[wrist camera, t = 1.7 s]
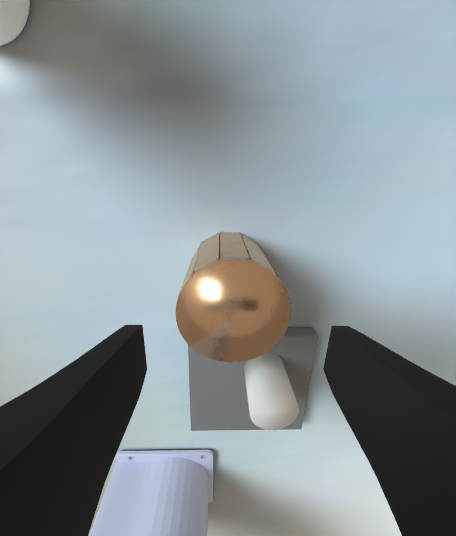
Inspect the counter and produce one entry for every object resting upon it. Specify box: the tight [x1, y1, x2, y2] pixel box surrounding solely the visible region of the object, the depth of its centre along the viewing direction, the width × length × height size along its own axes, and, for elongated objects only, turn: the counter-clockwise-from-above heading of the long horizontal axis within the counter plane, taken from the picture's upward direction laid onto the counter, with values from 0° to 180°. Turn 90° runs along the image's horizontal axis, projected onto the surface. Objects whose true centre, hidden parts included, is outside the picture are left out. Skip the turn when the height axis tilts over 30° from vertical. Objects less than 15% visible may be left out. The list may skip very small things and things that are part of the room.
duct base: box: [188, 327, 318, 431], centre depth 19 cm, size 10×10×5 cm
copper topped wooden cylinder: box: [176, 233, 291, 362], centre depth 14 cm, size 6×6×7 cm
